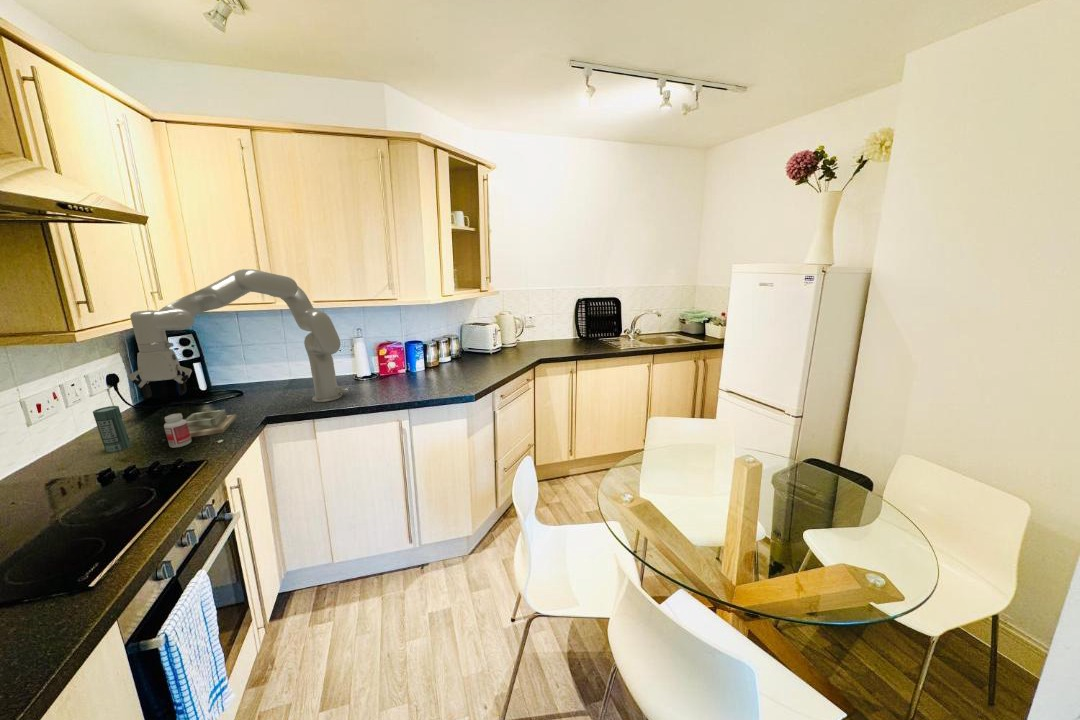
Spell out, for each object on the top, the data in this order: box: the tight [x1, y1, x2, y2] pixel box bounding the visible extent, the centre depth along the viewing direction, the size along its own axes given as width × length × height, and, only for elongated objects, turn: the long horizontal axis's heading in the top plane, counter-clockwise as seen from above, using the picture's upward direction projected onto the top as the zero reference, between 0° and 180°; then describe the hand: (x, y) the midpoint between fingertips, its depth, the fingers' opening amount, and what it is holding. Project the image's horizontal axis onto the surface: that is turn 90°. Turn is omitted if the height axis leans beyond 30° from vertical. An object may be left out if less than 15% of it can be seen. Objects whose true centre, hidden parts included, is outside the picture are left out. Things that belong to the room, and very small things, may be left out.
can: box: [92, 405, 132, 454], centre depth 143 cm, size 6×6×15 cm
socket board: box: [184, 408, 238, 438], centre depth 160 cm, size 16×16×5 cm
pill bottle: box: [163, 412, 192, 449], centre depth 146 cm, size 6×6×11 cm
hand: (166, 395), depth 142 cm, fingers open, 9 cm apart
